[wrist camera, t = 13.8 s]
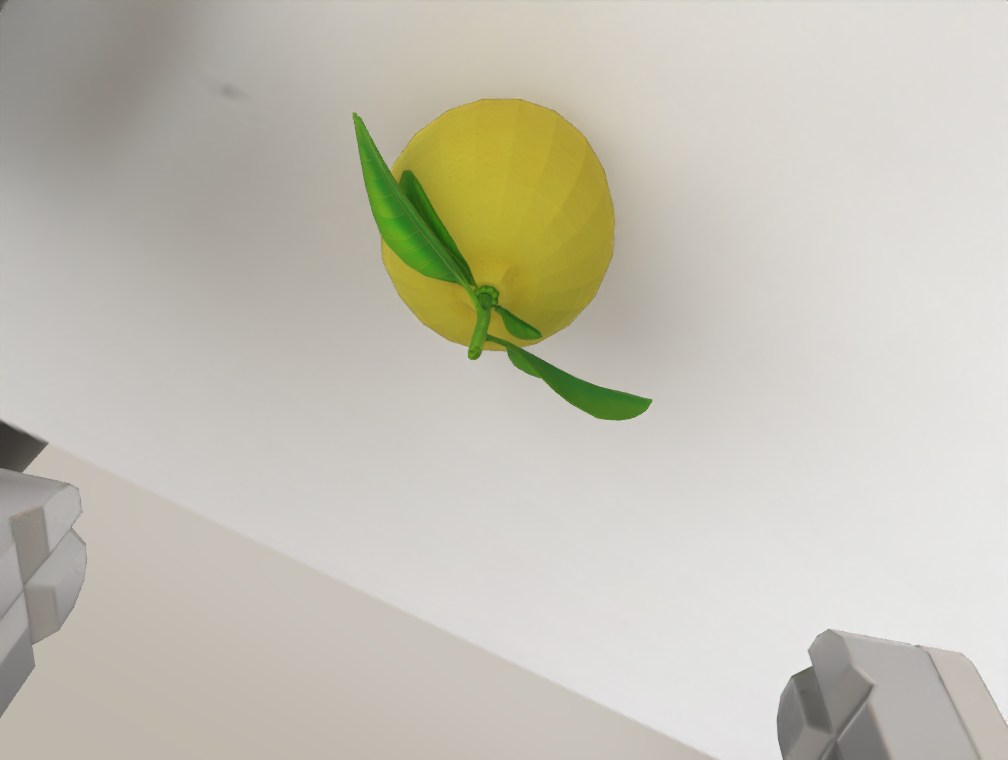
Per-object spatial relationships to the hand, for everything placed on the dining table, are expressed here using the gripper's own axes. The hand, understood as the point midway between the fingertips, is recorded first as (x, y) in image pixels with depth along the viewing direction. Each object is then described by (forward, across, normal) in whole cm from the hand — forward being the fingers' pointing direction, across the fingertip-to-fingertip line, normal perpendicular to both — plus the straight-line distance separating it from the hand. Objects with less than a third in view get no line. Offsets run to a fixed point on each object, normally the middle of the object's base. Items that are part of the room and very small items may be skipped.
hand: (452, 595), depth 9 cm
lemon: (+16, 0, 0) cm, 16 cm away
